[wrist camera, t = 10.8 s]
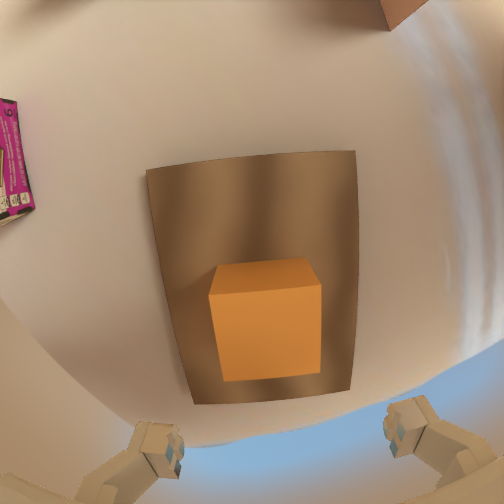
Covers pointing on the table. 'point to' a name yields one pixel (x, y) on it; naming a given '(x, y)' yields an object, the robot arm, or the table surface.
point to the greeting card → (399, 10)
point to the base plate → (258, 255)
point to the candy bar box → (12, 167)
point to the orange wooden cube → (267, 319)
